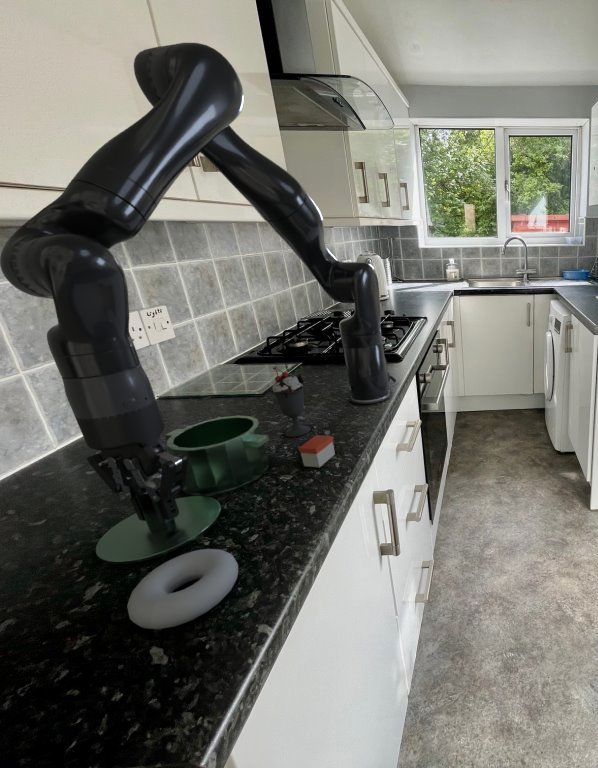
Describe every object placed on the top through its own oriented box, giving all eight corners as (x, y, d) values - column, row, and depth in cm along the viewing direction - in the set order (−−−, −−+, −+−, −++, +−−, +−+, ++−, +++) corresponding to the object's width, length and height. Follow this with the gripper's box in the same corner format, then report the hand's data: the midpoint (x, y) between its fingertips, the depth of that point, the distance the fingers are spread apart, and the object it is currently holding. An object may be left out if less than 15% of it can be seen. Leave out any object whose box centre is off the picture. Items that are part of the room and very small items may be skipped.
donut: (249, 556, 53) (155, 577, 50) (243, 534, 52) (146, 554, 48) (229, 619, 44) (113, 650, 41) (222, 595, 43) (101, 625, 40)
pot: (214, 453, 78) (202, 413, 75) (298, 460, 75) (288, 418, 72) (149, 491, 67) (131, 445, 64) (244, 501, 64) (230, 454, 61)
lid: (170, 498, 65) (156, 459, 63) (244, 506, 63) (232, 466, 60) (69, 561, 52) (47, 515, 50) (157, 574, 50) (138, 527, 48)
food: (319, 452, 78) (316, 434, 76) (336, 454, 77) (332, 436, 76) (302, 466, 73) (298, 447, 72) (319, 468, 73) (315, 449, 71)
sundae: (275, 440, 83) (258, 370, 78) (285, 426, 89) (270, 360, 84) (310, 437, 84) (296, 367, 79) (318, 423, 90) (305, 358, 85)
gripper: (190, 395, 53) (225, 506, 59) (104, 390, 56) (145, 497, 62) (130, 419, 46) (176, 542, 52) (34, 413, 49) (89, 531, 55)
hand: (159, 517), depth 57 cm, fingers closed on lid, 3 cm apart
